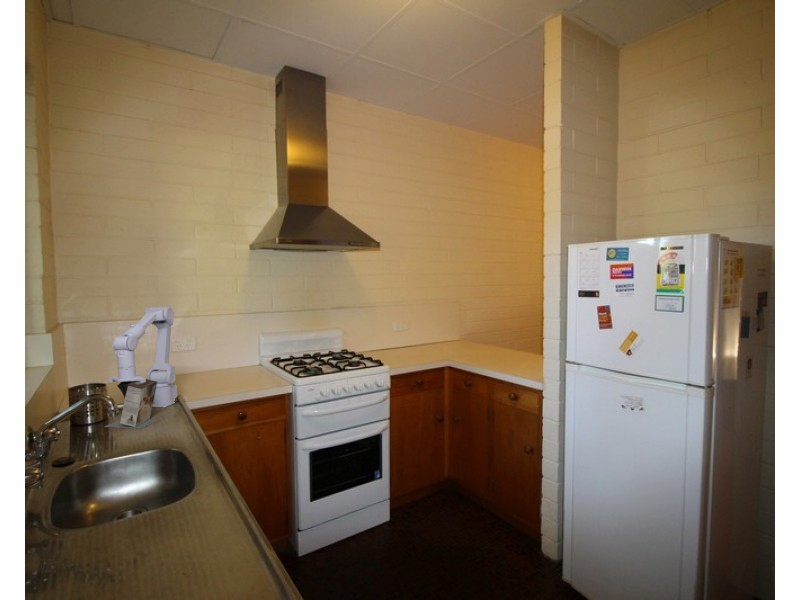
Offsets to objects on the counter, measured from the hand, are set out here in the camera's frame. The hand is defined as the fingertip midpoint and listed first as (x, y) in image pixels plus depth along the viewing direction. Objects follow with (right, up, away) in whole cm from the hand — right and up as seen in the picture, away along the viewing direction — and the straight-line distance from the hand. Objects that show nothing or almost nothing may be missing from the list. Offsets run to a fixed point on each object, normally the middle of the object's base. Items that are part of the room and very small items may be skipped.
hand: (129, 400), depth 162 cm
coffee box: (+2, -9, 0) cm, 9 cm away
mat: (0, -9, +1) cm, 9 cm away
